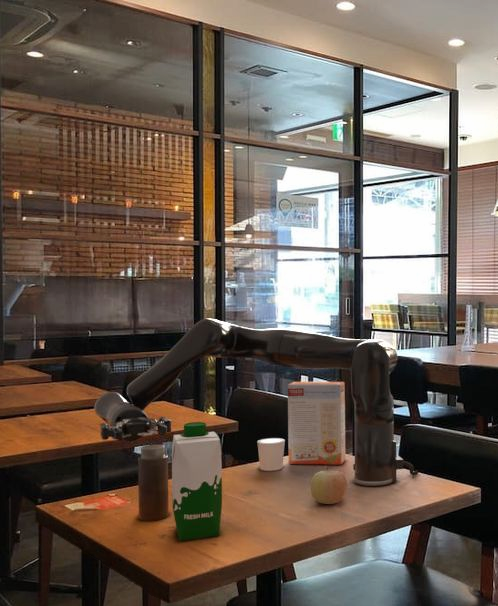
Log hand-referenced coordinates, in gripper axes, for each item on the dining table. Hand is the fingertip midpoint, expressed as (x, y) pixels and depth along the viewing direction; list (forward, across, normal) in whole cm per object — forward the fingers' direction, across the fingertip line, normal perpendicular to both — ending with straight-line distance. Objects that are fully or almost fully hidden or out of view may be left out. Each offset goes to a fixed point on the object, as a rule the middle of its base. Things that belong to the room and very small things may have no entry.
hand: (142, 433), depth 150 cm
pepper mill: (+11, 0, +15) cm, 18 cm away
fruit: (+22, +33, +15) cm, 43 cm away
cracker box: (-11, +45, +15) cm, 49 cm away
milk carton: (+25, +5, +15) cm, 30 cm away
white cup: (-12, +33, +15) cm, 38 cm away
